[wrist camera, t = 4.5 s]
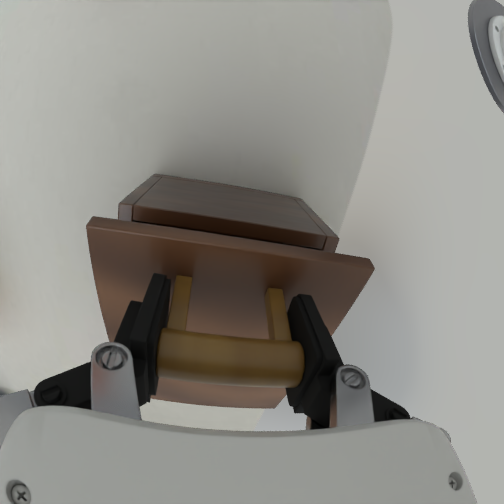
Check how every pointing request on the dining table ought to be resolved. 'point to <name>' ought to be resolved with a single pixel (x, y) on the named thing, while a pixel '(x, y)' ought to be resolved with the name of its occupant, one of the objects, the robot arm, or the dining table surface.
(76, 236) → the dining table surface
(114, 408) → the robot arm
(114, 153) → the dining table surface
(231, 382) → the lid
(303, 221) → the chest
